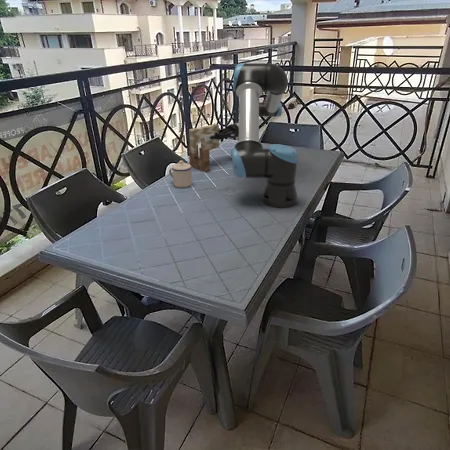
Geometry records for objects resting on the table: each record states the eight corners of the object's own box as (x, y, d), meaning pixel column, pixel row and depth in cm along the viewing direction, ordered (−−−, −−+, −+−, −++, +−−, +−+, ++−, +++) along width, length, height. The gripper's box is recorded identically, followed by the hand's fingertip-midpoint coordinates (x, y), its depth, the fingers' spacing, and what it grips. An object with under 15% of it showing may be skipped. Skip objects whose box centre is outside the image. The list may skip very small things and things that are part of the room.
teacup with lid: (196, 182, 168) (194, 159, 162) (185, 189, 161) (183, 165, 155) (175, 178, 173) (173, 156, 167) (164, 184, 166) (162, 161, 160)
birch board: (215, 146, 190) (215, 123, 184) (219, 147, 188) (218, 124, 182) (190, 152, 180) (189, 129, 175) (193, 153, 178) (192, 130, 173)
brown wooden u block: (209, 171, 182) (209, 148, 176) (205, 172, 180) (204, 149, 175) (194, 164, 191) (192, 143, 186) (189, 165, 190) (188, 144, 184)
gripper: (245, 140, 190) (212, 148, 177) (226, 134, 201) (193, 142, 187) (245, 126, 186) (211, 133, 173) (226, 121, 197) (192, 128, 184)
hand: (202, 138), depth 180 cm, fingers closed on birch board, 3 cm apart
